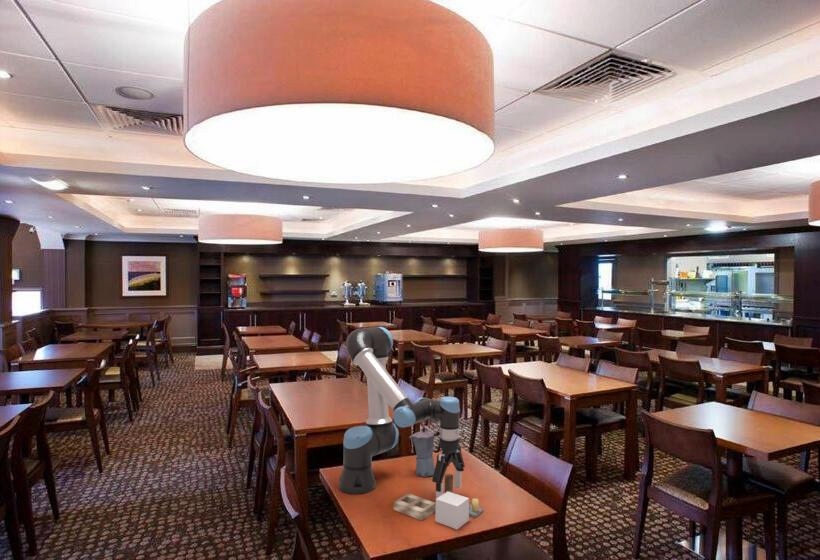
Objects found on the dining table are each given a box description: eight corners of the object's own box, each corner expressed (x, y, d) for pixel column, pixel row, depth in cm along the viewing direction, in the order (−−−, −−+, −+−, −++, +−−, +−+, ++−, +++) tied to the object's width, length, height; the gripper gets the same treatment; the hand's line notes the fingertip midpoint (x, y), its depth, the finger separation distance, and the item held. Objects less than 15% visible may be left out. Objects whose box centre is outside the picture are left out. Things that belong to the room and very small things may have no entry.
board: (458, 512, 178) (458, 498, 178) (466, 506, 183) (466, 493, 183) (475, 517, 174) (475, 504, 174) (483, 511, 179) (483, 498, 179)
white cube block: (435, 521, 171) (435, 499, 171) (447, 512, 178) (447, 491, 178) (457, 529, 166) (457, 506, 166) (468, 520, 172) (469, 498, 172)
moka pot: (406, 470, 216) (406, 426, 216) (438, 467, 221) (439, 423, 221) (412, 479, 207) (413, 432, 207) (446, 475, 212) (446, 429, 212)
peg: (442, 501, 186) (443, 476, 186) (447, 498, 189) (447, 473, 189) (449, 504, 184) (450, 478, 184) (454, 501, 187) (454, 475, 187)
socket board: (393, 509, 179) (393, 501, 179) (408, 501, 187) (408, 493, 187) (422, 520, 172) (422, 512, 172) (436, 511, 179) (436, 503, 179)
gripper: (440, 448, 175) (439, 507, 175) (473, 432, 194) (473, 484, 194) (423, 444, 179) (422, 501, 179) (457, 428, 199) (457, 480, 199)
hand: (448, 493), depth 187 cm, fingers open, 12 cm apart
